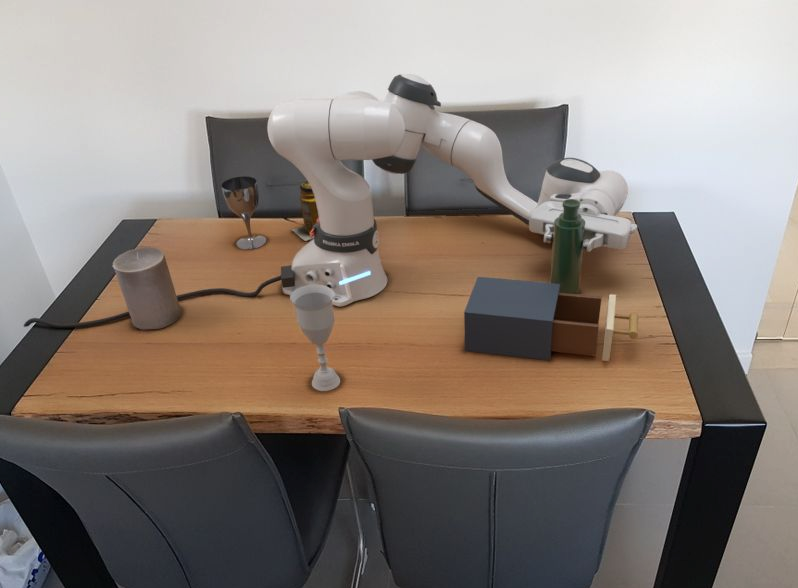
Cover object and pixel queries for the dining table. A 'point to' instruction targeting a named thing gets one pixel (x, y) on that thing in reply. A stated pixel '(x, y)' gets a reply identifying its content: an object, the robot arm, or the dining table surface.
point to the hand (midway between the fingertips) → (566, 243)
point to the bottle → (568, 248)
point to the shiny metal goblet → (243, 206)
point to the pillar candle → (147, 288)
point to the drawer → (586, 324)
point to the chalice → (317, 327)
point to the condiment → (307, 211)
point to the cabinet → (511, 317)
